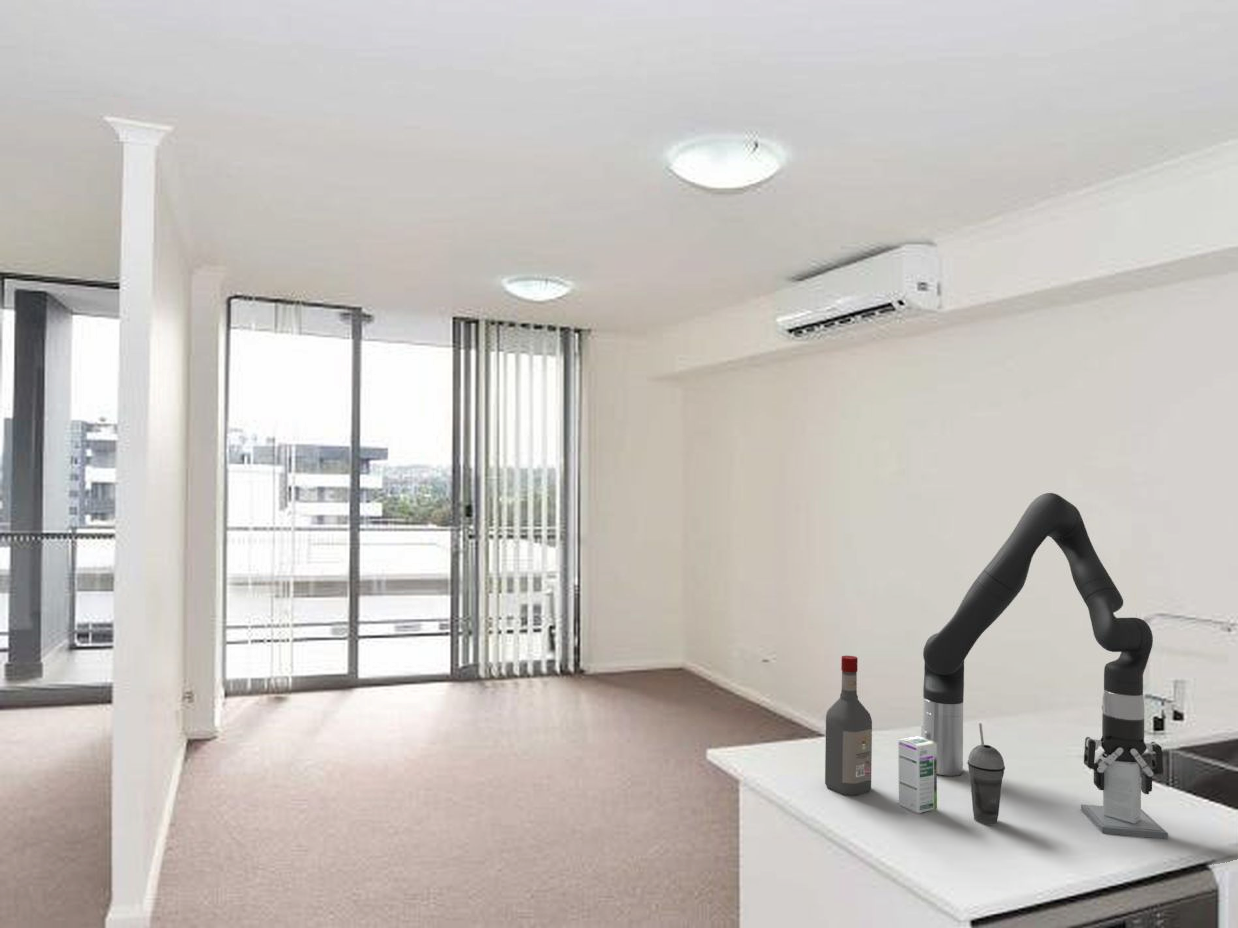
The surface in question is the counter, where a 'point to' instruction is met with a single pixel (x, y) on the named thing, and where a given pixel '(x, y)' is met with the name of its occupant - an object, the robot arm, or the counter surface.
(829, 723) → the liquor
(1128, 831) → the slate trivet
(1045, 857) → the counter surface
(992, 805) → the beverage cup
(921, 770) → the syrup box
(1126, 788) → the skincare box
